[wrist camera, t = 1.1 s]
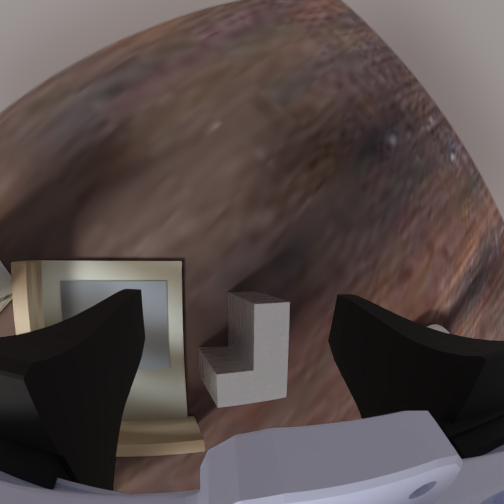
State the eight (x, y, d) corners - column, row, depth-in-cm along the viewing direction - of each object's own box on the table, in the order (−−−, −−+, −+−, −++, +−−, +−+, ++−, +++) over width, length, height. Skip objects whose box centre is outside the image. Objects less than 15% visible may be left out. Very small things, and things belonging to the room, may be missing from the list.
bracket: (255, 369, 27) (286, 397, 21) (199, 375, 25) (217, 407, 19) (256, 291, 27) (289, 301, 21) (197, 292, 25) (215, 306, 19)
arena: (194, 426, 25) (204, 451, 21) (52, 428, 20) (43, 452, 17) (188, 261, 25) (198, 263, 21) (29, 260, 20) (10, 262, 16)
